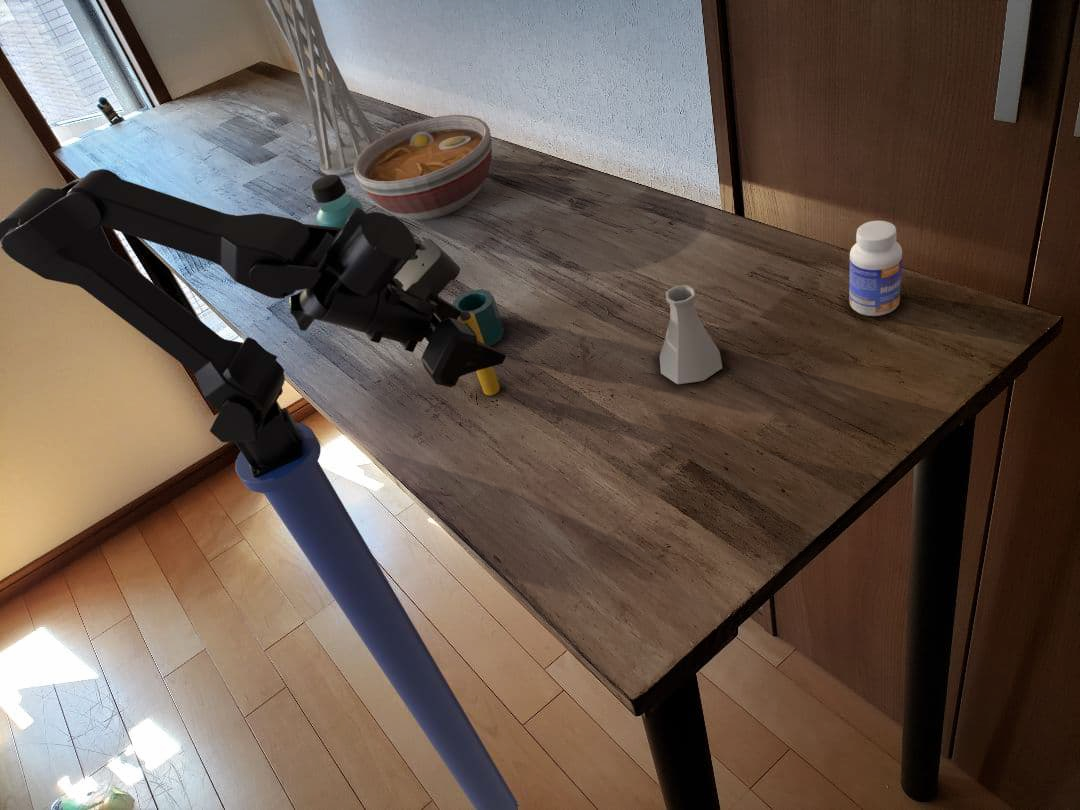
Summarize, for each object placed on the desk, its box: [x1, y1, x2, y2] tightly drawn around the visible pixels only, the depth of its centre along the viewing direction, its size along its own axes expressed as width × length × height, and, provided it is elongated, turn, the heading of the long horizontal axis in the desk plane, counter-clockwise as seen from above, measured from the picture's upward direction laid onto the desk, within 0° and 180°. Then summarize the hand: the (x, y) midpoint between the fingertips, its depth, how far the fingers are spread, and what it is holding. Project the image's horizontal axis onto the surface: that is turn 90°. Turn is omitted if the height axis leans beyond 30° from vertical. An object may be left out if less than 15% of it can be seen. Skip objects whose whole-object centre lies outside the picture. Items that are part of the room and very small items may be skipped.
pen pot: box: [451, 289, 505, 347], centre depth 108 cm, size 5×5×6 cm
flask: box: [659, 284, 723, 385], centre depth 93 cm, size 7×7×10 cm
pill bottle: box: [848, 220, 903, 317], centre depth 93 cm, size 5×5×10 cm
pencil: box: [458, 311, 501, 396], centre depth 97 cm, size 2×2×12 cm
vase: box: [263, 0, 380, 177], centre depth 153 cm, size 14×13×35 cm
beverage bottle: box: [311, 174, 364, 228], centre depth 115 cm, size 6×7×20 cm
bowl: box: [353, 114, 493, 221], centre depth 138 cm, size 23×23×10 cm
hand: (487, 340), depth 97 cm, fingers open, 9 cm apart
